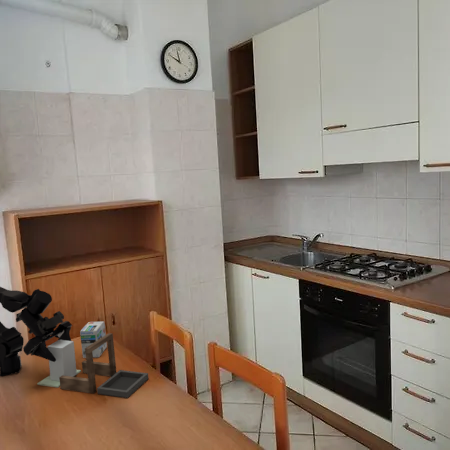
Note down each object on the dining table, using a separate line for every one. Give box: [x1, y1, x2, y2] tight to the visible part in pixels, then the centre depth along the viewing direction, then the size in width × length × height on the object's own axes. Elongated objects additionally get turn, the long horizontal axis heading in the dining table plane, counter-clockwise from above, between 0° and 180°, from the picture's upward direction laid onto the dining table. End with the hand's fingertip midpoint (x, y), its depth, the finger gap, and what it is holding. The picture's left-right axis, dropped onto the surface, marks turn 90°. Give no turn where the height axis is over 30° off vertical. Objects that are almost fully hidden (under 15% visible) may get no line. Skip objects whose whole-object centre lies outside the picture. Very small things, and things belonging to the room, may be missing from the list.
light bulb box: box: [79, 321, 108, 359], centre depth 176 cm, size 11×7×11 cm, turn 179°
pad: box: [37, 369, 82, 388], centre depth 157 cm, size 8×12×1 cm
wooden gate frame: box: [59, 332, 118, 394], centre depth 151 cm, size 13×13×15 cm
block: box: [46, 339, 78, 381], centre depth 155 cm, size 6×6×12 cm
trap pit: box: [96, 369, 150, 399], centre depth 147 cm, size 11×13×2 cm
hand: (64, 355), depth 154 cm, fingers open, 9 cm apart
